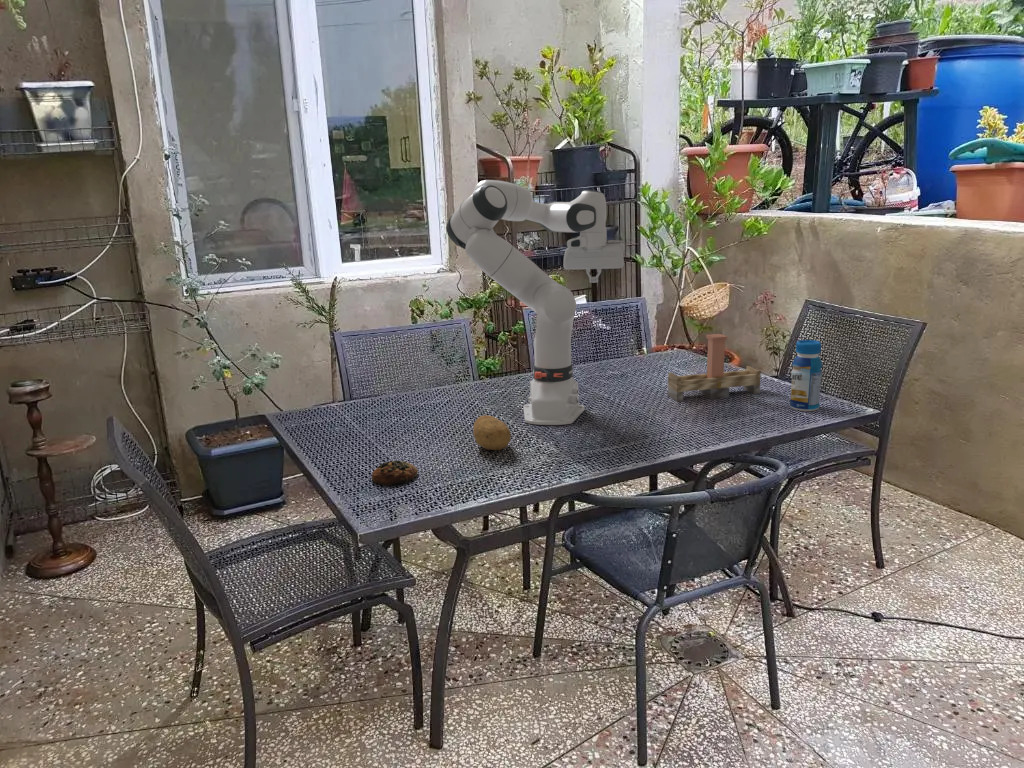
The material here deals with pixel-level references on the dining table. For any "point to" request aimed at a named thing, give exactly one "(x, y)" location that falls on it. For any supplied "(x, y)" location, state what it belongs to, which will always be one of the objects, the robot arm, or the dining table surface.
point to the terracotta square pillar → (715, 355)
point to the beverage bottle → (806, 376)
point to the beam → (714, 383)
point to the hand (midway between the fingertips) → (593, 282)
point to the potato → (491, 433)
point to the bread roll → (394, 473)
